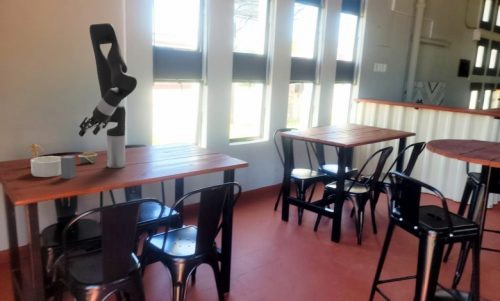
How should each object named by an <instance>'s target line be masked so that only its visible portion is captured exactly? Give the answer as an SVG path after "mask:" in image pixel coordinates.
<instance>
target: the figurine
mask: <svg viewBox="0 0 500 301" xmlns="http://www.w3.org/2000/svg"><path fill="white" fill-rule="evenodd" d="M37 147H38V148H40V149H41V151H42V153H43V152H44V149H43V148H42V146H40V145H38V144H36V143H35V142H33V143H31V145H29V146H27V147H26V149H25V152H28V149H30V148H31V149H32V150H31V154H32V159H34V158H37V157H38V154H39V153H38V149H37ZM35 154H36V155H35Z"/></svg>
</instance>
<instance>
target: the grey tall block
mask: <svg viewBox="0 0 500 301" xmlns="http://www.w3.org/2000/svg"><path fill="white" fill-rule="evenodd" d="M60 157H61V174H60V176H61V177H60V178H61V179H67V180H68V179H70V180H71V179H73V178H75V177H77V170H76V169H77V168H76V166H77V165H76V156H75V155H64V156H60Z"/></svg>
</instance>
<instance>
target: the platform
mask: <svg viewBox="0 0 500 301" xmlns="http://www.w3.org/2000/svg"><path fill="white" fill-rule="evenodd" d="M97 156H98V153H95V151H85V152H84V153H83V154H78V156H77V157H79V158H80V165H82V164H88V163H89V162H90V163H92V164H93V163H95V162H96V157H97Z"/></svg>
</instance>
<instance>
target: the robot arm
mask: <svg viewBox="0 0 500 301" xmlns="http://www.w3.org/2000/svg"><path fill="white" fill-rule="evenodd" d="M89 35H90V41H91V45H92V49H93V54H94V58H95V59H94V60H95V67H96V75H97V80H98V85H99V90H100V91H99V92H100V94H101V95H100V98H101V99H100V101H98V103H97V105H96V106H95V107H94V109H93V111H92V115H91V117H90V118H89V117H85V118H84V119H83V121H82V122H81V123H80V124H79V129H80V130H79V132H78V135H79V136H80V137H81V138H82V137H84V135H85V134H86V133H87V131H88V130H92V129H93V128H94V129H93V130H92V134H93V135H94V136H97V135H98V133H99V132H100V131H102V130H103V129H106V127H107V126H108V124H109V123H117V124H116V126H114V127H112V128H108V129H107V130H106V154H107V155H106V157H107V158H106V159H107V161H106V162H107V168H111V169H121V168H125V167H126V108H125V106H124V105H120V103H121V102H122V101H123V100H124V99H125V98H126V97H128V96H129V95H130V94H132V93H133V92H134V91H135V89H136V88H137V84H138V81H137V77H135V76H133V75H131V74H127V72H128V66H127V63H126V62H125V59H124V57H123V55H122V50H121V47H120V43H119V40H118V36H117V32H116V29H115V27H114V26H113V24H112V23H107V22H106V23H95V24H90V26H89ZM108 44H111V46H110V49H109V51H108V54H107V56H106V54H105V53H104V52H103V51H102V49H101V45H108Z"/></svg>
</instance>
